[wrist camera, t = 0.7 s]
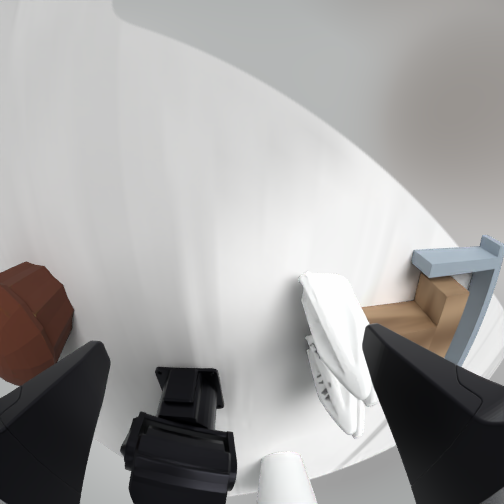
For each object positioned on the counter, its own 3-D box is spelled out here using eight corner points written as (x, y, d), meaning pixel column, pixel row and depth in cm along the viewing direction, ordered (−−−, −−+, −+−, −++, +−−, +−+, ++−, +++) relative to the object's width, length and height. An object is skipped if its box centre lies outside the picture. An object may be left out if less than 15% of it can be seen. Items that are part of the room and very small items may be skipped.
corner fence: (449, 353, 27) (460, 368, 24) (381, 371, 27) (390, 390, 24) (488, 235, 21) (506, 245, 18) (415, 237, 21) (435, 250, 18)
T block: (420, 342, 26) (439, 368, 21) (349, 355, 25) (363, 387, 21) (443, 270, 22) (469, 292, 18) (365, 277, 22) (387, 306, 18)
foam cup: (240, 456, 33) (241, 528, 21) (296, 441, 32) (308, 519, 20) (268, 472, 37) (273, 533, 24) (318, 459, 35) (330, 523, 23)
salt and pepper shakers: (293, 262, 21) (331, 365, 11) (344, 251, 21) (413, 339, 11) (307, 368, 26) (330, 462, 16) (347, 358, 26) (382, 447, 15)
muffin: (105, 329, 23) (61, 404, 14) (51, 353, 25) (15, 410, 16) (36, 226, 19) (-38, 273, 10) (-5, 273, 21) (-57, 317, 12)
